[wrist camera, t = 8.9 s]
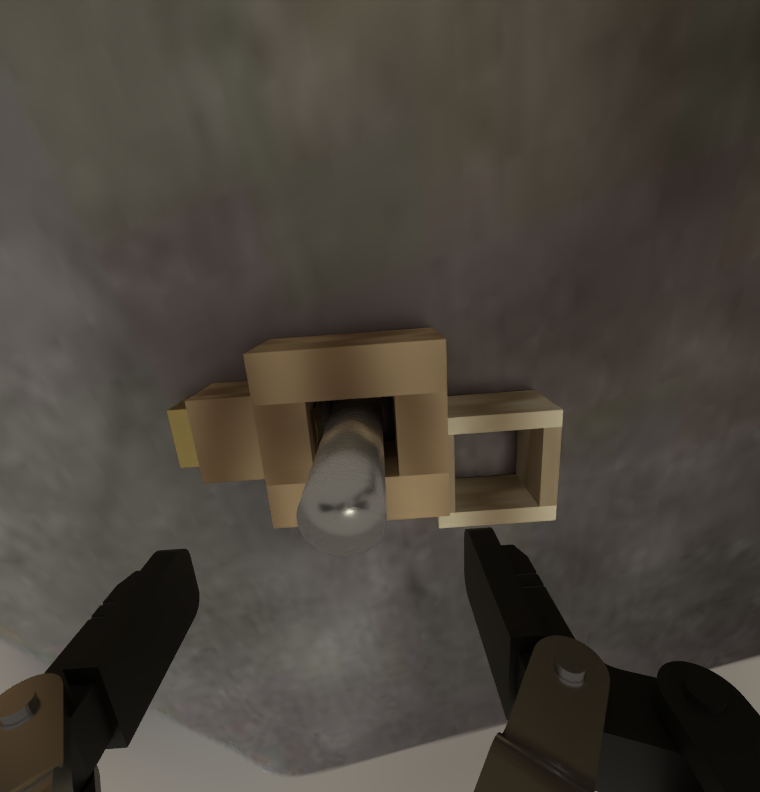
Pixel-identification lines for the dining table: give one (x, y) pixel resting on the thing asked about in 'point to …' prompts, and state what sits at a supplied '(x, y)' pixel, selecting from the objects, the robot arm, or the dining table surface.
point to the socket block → (295, 426)
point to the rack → (535, 459)
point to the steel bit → (346, 482)
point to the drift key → (185, 438)
